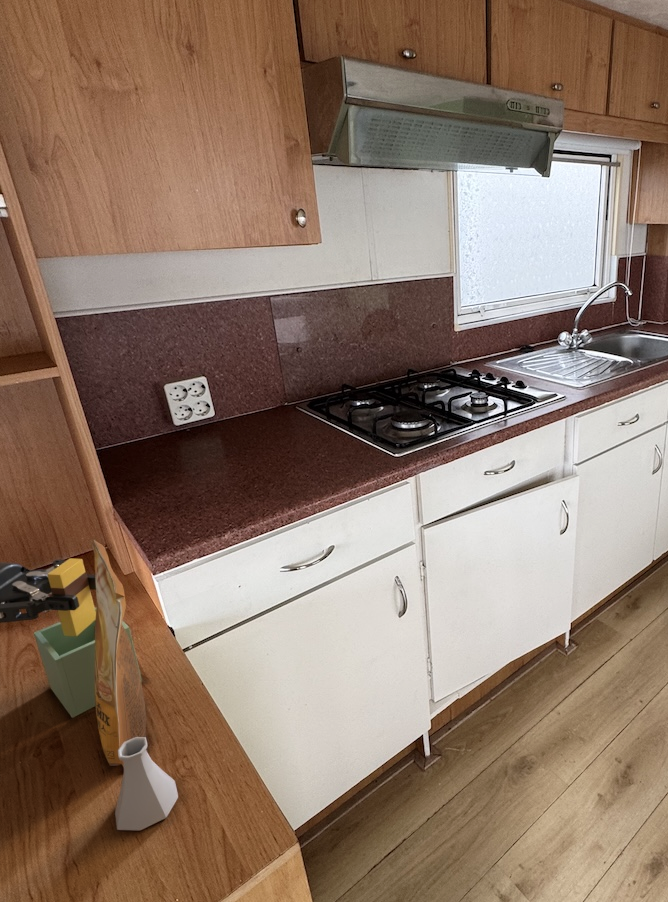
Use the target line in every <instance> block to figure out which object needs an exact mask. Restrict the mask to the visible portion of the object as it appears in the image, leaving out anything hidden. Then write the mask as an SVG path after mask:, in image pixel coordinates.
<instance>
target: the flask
mask: <svg viewBox="0 0 668 902" xmlns="http://www.w3.org/2000/svg"><path fill="white" fill-rule="evenodd" d="M147 749H148V741H147V736H146V737H135V738H133V739H130V740H128V741H125V742H124V743H123V744H122V745H121V747H120V748H119V749H118V756H119V760H122V761H123V764H124V768H123V775H122V776H123V777H122V779H121V785H120V790H119V794H118V798H117V803H116V806H115V810H114V815H115V825H116V830H117V831H142V830H145V829H146V828H148V827H150V826H152V825H155V824H156V823H158V822H160V821H163V820H165V819H167V817H168V816H169V814H170V812H172V811H171V810H172V809H173V807H174V805H175V804H176V802H177V800H178V798H179V793H178V789H177V785H176V780H174V779H173V778H172V777H171V776H170V775H169V774H167V773H166V772H165V770H163V769H162V768H161V767H160V766H158V764H156V763H155V762H154V761H153V759H152V758H151V756H150V755H149V753H148V750H147Z"/></svg>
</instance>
